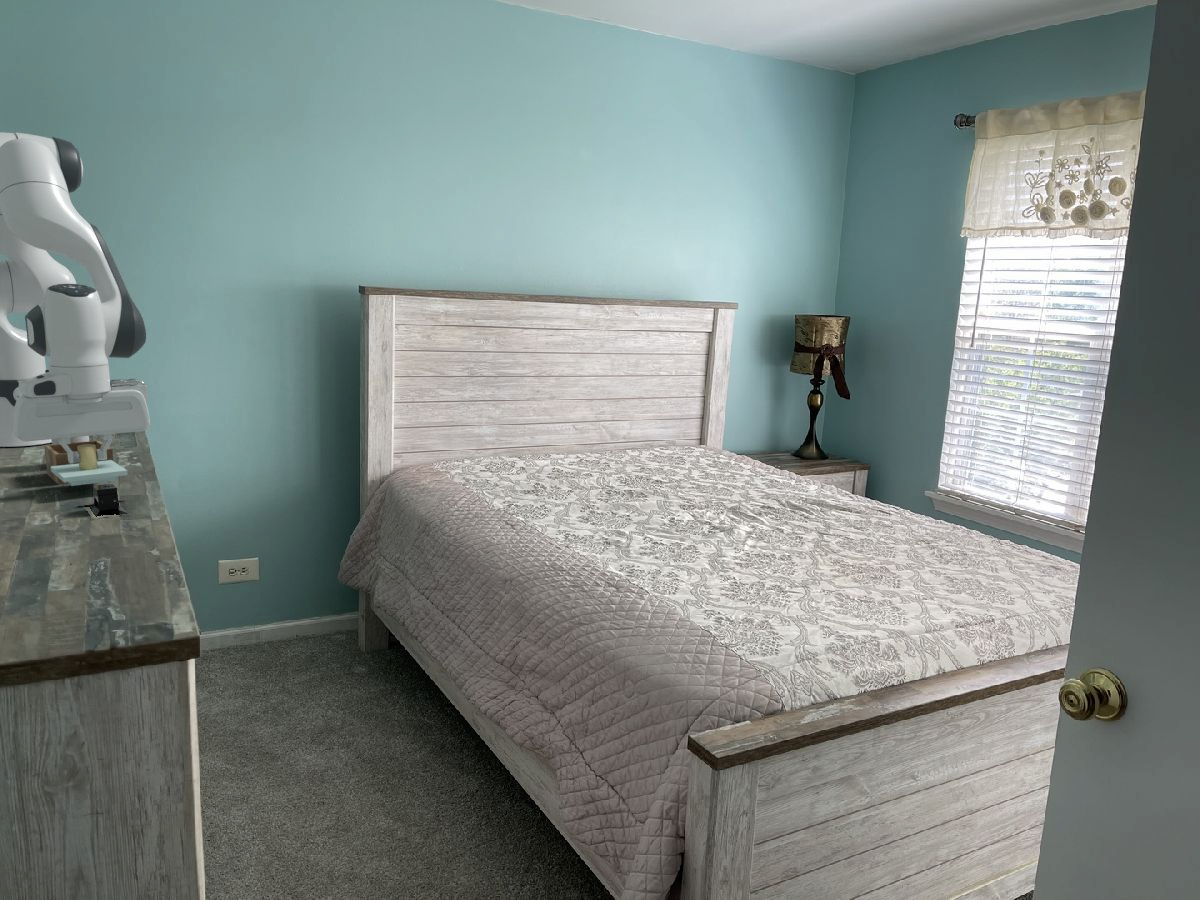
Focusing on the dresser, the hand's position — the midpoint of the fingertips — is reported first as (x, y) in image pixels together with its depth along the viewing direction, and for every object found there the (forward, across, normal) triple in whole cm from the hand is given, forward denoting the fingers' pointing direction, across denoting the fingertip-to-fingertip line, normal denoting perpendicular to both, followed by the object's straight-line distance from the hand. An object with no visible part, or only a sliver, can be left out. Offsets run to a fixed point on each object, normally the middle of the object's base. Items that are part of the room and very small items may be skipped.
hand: (87, 461), depth 155 cm
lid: (+2, 0, 0) cm, 2 cm away
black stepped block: (+6, +1, +14) cm, 15 cm away
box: (+6, -1, -12) cm, 13 cm away
